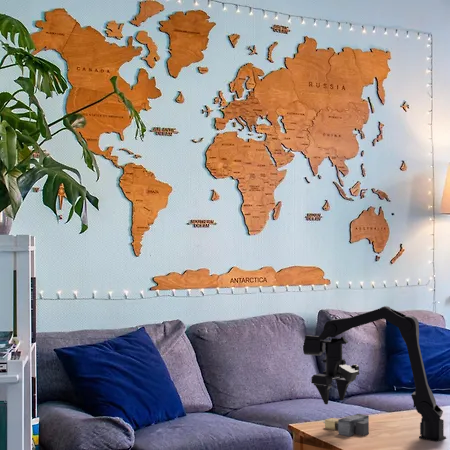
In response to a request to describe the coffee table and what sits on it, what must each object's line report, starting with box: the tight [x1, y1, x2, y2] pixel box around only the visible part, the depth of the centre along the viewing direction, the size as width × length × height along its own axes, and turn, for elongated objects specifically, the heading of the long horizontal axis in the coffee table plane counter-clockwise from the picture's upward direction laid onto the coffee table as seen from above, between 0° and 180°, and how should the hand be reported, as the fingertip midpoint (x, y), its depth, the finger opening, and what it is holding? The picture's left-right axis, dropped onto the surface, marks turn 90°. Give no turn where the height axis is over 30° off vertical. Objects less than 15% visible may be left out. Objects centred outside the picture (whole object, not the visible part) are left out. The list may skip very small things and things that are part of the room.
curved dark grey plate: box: [337, 413, 370, 437], centre depth 242 cm, size 4×12×5 cm, turn 137°
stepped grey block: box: [337, 421, 370, 436], centre depth 243 cm, size 11×3×4 cm, turn 47°
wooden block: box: [323, 417, 339, 431], centre depth 248 cm, size 5×4×3 cm
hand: (334, 402), depth 248 cm, fingers open, 9 cm apart
